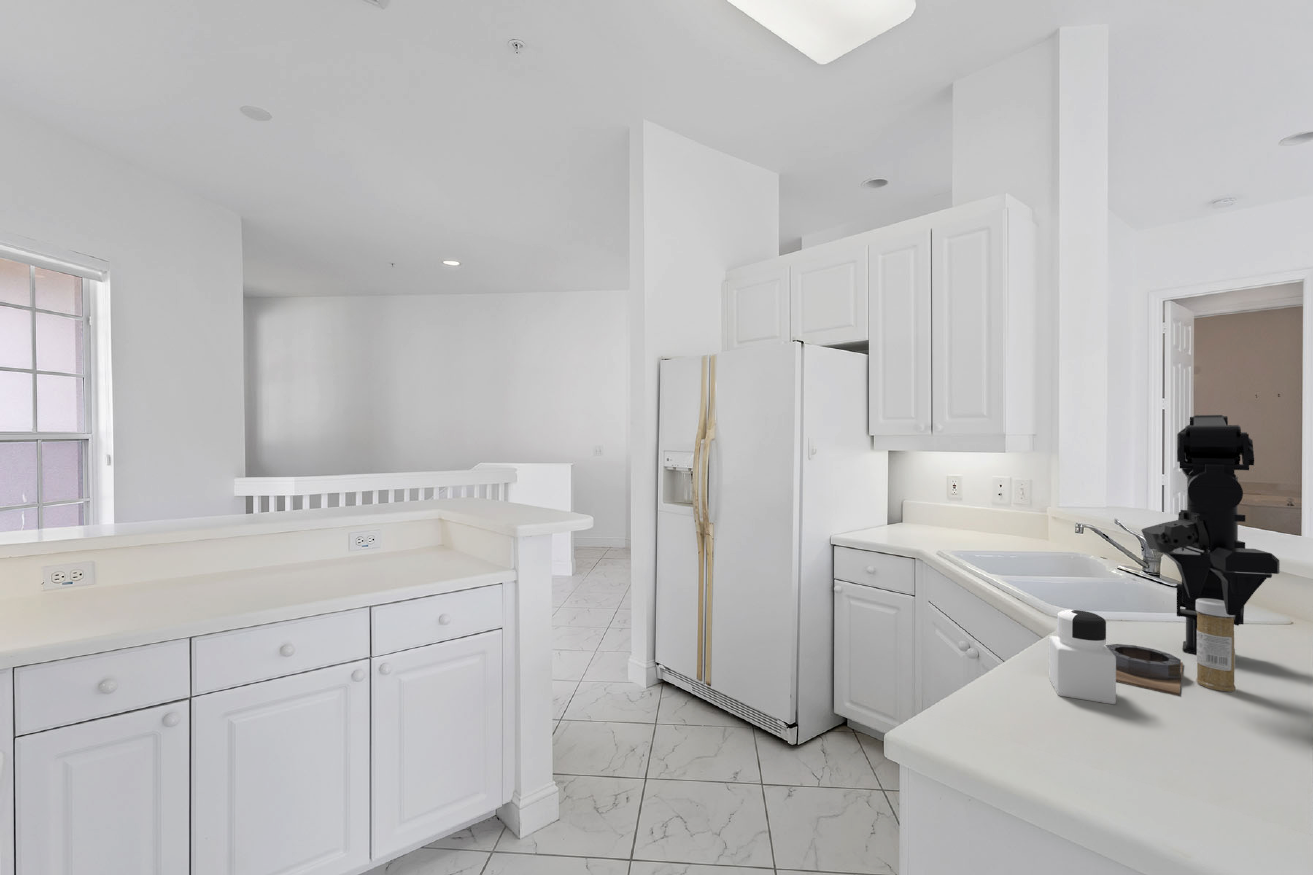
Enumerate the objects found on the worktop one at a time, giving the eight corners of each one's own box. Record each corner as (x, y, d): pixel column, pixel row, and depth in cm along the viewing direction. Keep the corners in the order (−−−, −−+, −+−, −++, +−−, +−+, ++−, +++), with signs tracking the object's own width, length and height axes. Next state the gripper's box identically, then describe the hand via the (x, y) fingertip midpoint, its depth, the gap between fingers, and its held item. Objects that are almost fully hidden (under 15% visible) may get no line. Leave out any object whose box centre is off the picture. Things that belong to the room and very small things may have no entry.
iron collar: (1108, 653, 106) (1108, 640, 106) (1181, 668, 99) (1181, 654, 99) (1100, 668, 98) (1100, 653, 98) (1179, 685, 92) (1179, 669, 92)
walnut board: (1110, 650, 109) (1110, 648, 109) (1182, 664, 102) (1182, 662, 102) (1096, 677, 95) (1097, 674, 95) (1179, 695, 89) (1179, 692, 89)
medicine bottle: (1103, 687, 91) (1103, 610, 91) (1116, 705, 85) (1116, 622, 85) (1048, 679, 94) (1049, 604, 94) (1057, 695, 88) (1058, 615, 88)
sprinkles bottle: (1239, 688, 92) (1239, 602, 92) (1230, 694, 89) (1230, 606, 89) (1200, 678, 96) (1200, 595, 96) (1191, 684, 93) (1191, 599, 93)
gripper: (1120, 498, 102) (1120, 587, 102) (1185, 511, 84) (1185, 620, 84) (1198, 499, 99) (1198, 591, 99) (1282, 514, 81) (1282, 627, 81)
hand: (1211, 606), depth 91 cm, fingers open, 9 cm apart
